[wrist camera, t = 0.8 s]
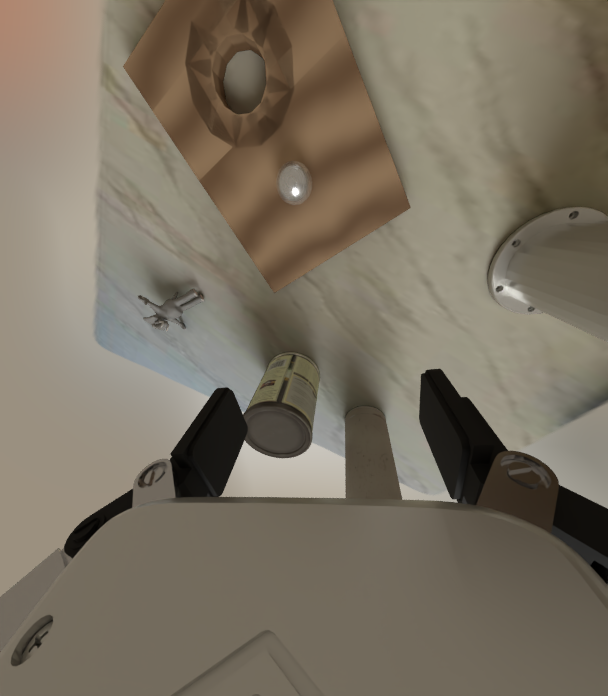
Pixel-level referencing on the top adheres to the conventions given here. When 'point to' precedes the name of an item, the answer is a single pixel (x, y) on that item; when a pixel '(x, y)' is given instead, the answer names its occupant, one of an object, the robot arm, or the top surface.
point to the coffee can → (284, 407)
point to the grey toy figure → (171, 309)
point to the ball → (294, 182)
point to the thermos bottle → (369, 456)
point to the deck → (272, 125)
